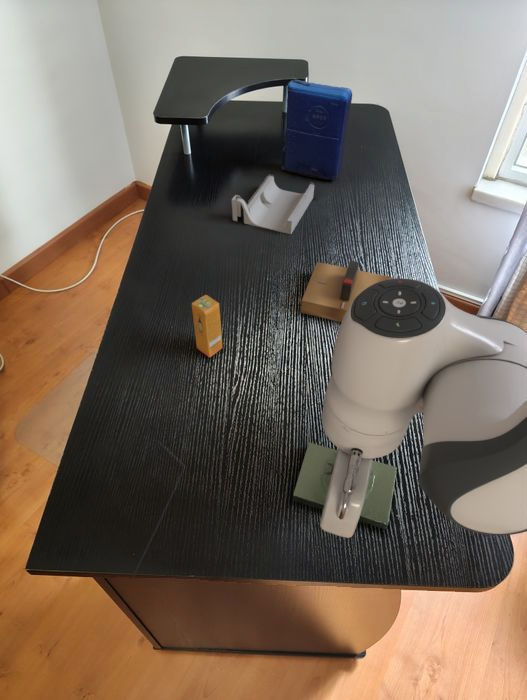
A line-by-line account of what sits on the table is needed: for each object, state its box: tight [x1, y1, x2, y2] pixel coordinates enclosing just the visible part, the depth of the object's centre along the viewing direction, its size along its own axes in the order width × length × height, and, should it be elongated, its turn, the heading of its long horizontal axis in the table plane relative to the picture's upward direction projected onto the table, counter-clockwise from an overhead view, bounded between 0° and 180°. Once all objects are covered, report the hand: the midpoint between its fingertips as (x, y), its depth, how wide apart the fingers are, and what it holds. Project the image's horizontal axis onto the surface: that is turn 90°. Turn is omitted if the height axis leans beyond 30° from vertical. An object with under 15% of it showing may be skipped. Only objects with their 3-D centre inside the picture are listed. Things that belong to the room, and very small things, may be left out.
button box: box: [292, 442, 398, 530], centre depth 62 cm, size 12×8×4 cm, turn 72°
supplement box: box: [191, 294, 224, 358], centre depth 75 cm, size 3×3×10 cm
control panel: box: [300, 261, 393, 323], centre depth 85 cm, size 14×11×3 cm
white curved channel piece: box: [231, 175, 315, 235], centre depth 103 cm, size 15×13×5 cm
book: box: [281, 79, 353, 181], centre depth 107 cm, size 14×5×20 cm, turn 67°
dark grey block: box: [340, 260, 360, 301], centre depth 82 cm, size 6×2×4 cm, turn 161°
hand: (347, 473), depth 60 cm, fingers closed, pressing on start button
